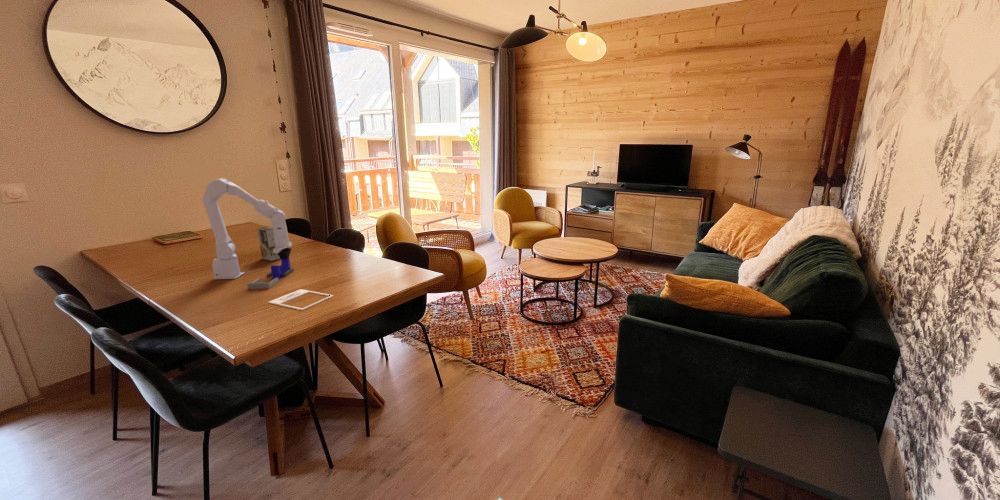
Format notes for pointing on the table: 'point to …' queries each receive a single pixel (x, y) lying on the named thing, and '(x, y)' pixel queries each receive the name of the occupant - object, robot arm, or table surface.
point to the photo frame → (295, 295)
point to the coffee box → (267, 243)
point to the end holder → (262, 284)
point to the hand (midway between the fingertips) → (285, 263)
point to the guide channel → (283, 274)
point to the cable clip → (280, 268)
